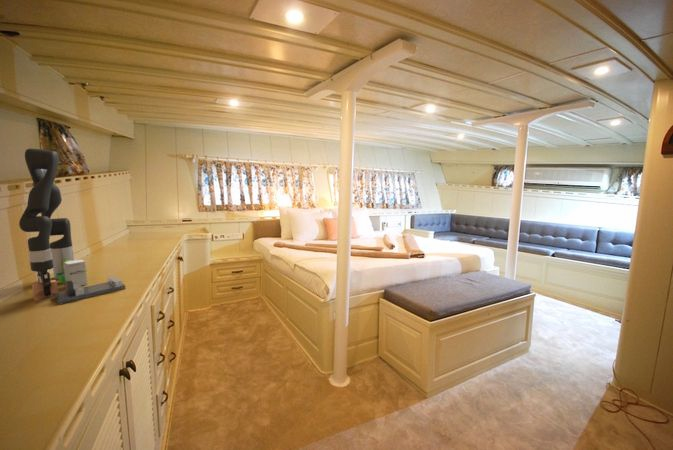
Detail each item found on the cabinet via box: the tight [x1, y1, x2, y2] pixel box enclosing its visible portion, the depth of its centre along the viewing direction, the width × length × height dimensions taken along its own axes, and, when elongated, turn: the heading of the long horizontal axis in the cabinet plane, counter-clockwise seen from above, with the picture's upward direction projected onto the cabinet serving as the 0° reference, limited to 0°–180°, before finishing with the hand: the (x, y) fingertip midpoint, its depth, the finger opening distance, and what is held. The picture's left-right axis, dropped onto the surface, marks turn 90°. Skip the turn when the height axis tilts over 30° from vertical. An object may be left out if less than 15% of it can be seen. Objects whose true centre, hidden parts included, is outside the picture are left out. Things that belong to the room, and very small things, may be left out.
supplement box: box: [63, 259, 88, 287], centre depth 156 cm, size 7×7×13 cm
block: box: [31, 279, 59, 301], centre depth 141 cm, size 8×4×7 cm, turn 141°
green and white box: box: [56, 260, 88, 285], centre depth 163 cm, size 11×9×11 cm
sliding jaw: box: [64, 281, 84, 296], centre depth 141 cm, size 12×5×5 cm, turn 51°
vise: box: [53, 275, 126, 305], centre depth 146 cm, size 12×25×4 cm, turn 141°
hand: (46, 293), depth 141 cm, fingers open, 8 cm apart
